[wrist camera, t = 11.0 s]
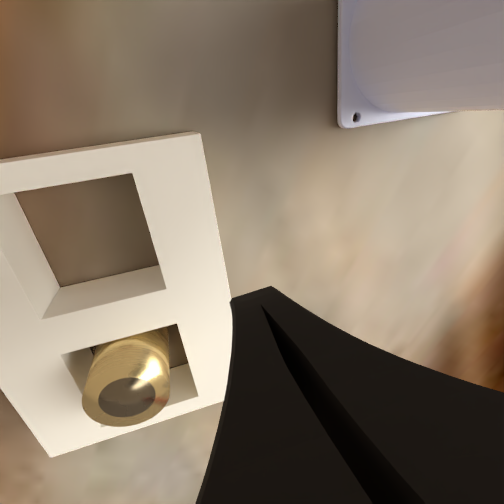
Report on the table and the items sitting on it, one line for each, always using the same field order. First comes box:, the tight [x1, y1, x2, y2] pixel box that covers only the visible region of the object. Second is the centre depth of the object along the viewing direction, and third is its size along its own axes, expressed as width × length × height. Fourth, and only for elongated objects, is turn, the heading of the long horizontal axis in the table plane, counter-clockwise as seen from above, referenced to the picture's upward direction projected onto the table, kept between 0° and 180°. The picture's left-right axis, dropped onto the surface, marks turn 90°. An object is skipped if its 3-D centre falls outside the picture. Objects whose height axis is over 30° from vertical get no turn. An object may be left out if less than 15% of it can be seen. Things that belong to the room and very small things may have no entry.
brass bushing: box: [82, 326, 170, 427], centre depth 17 cm, size 4×4×5 cm
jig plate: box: [0, 131, 232, 458], centre depth 16 cm, size 12×16×3 cm
